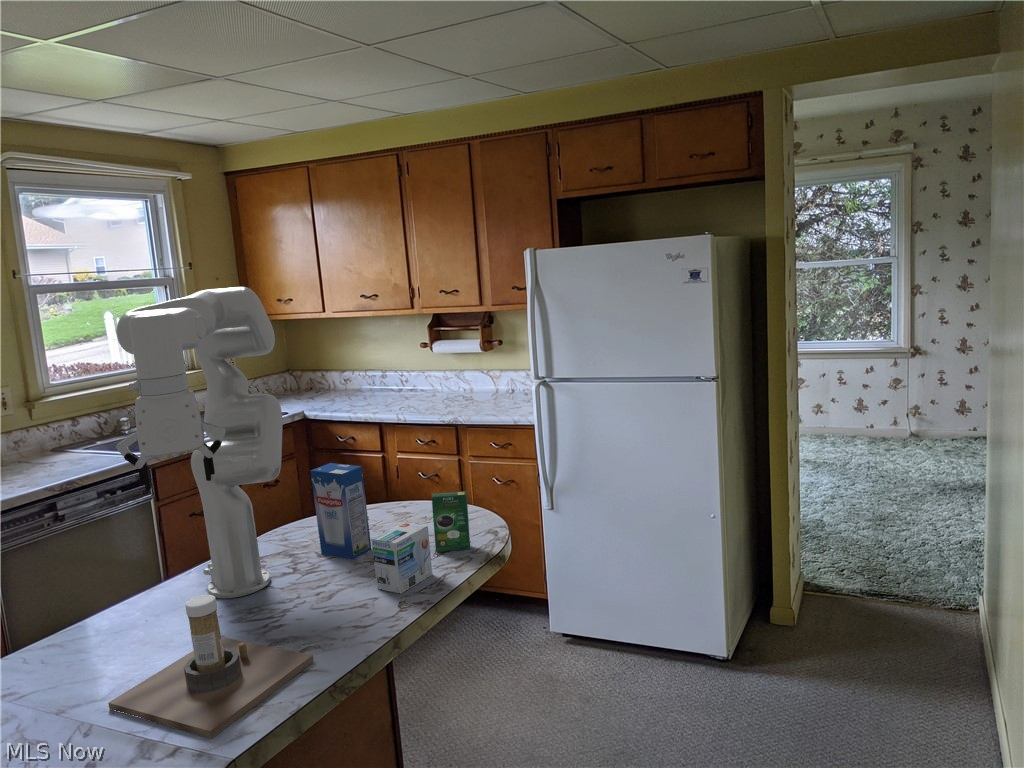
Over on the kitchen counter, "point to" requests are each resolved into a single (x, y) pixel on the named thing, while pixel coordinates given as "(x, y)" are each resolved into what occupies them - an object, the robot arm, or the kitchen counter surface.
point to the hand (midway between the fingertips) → (179, 483)
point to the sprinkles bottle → (205, 633)
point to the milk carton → (341, 510)
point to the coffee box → (451, 521)
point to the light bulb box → (402, 557)
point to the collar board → (211, 704)
